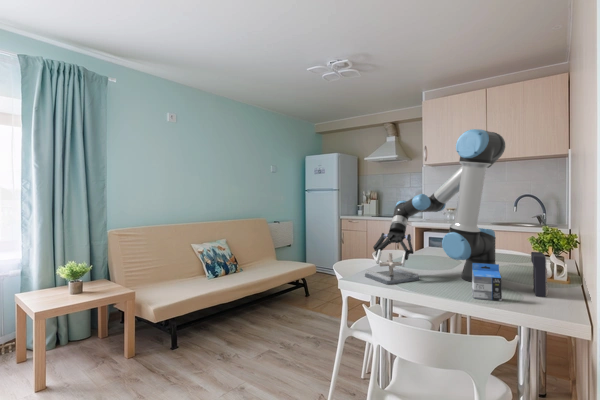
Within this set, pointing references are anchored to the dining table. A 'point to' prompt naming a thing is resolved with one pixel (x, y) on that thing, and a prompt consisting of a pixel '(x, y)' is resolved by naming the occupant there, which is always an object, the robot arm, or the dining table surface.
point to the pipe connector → (390, 264)
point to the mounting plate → (392, 276)
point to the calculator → (539, 274)
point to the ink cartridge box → (486, 282)
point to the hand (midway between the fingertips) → (389, 263)
